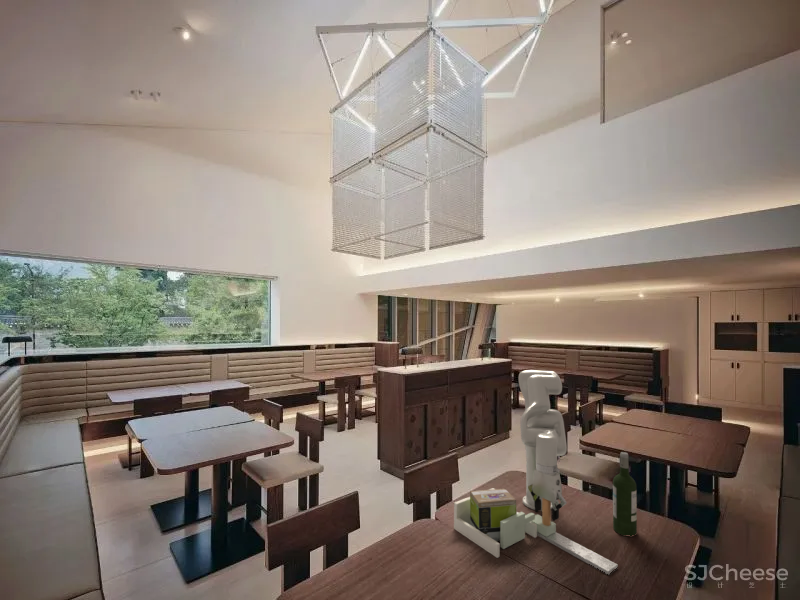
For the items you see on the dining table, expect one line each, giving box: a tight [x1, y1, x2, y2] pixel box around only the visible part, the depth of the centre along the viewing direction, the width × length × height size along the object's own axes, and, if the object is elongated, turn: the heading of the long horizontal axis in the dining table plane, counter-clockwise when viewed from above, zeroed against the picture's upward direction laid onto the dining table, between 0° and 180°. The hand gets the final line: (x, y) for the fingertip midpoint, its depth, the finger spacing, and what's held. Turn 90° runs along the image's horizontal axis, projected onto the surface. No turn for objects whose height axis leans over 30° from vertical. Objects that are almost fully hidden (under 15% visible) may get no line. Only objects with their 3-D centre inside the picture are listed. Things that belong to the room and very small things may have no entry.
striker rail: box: [516, 511, 619, 576], centre depth 141 cm, size 6×40×1 cm, turn 35°
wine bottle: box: [612, 451, 638, 536], centre depth 149 cm, size 8×8×30 cm
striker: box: [499, 498, 557, 550], centre depth 142 cm, size 24×8×14 cm, turn 125°
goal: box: [453, 487, 538, 559], centre depth 146 cm, size 22×22×10 cm
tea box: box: [469, 488, 517, 542], centre depth 146 cm, size 15×10×15 cm
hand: (546, 514), depth 145 cm, fingers open, 6 cm apart
